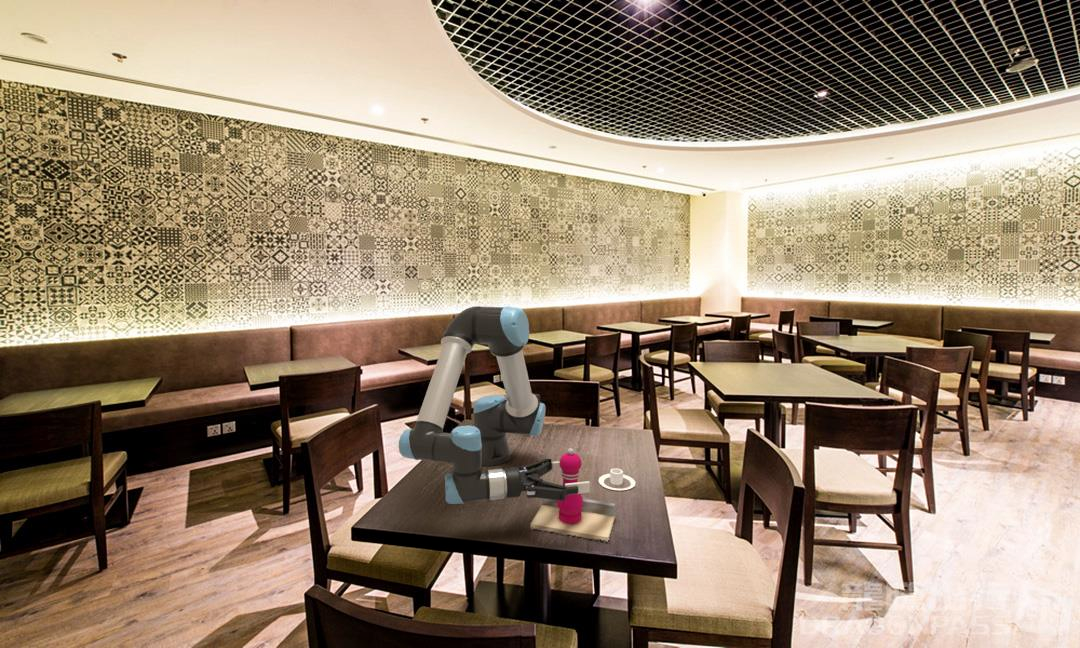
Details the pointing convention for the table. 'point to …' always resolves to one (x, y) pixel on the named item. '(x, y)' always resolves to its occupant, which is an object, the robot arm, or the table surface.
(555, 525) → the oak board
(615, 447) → the table surface
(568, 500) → the pepper mill
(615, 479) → the candle holder
